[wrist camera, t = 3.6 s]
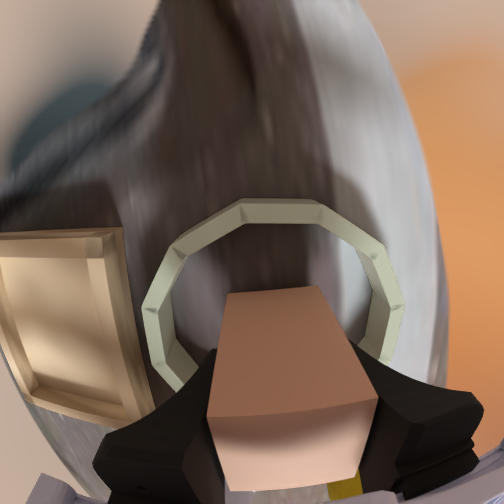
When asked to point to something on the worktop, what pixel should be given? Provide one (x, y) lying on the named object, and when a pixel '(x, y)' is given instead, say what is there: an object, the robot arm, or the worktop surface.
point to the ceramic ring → (268, 211)
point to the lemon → (345, 488)
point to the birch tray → (73, 324)
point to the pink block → (287, 393)
